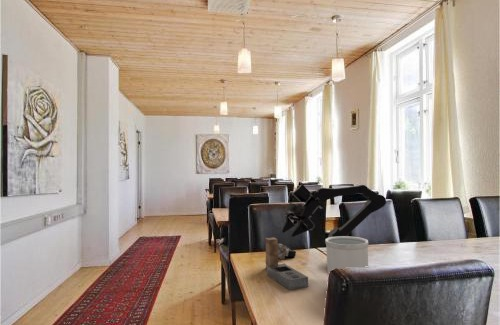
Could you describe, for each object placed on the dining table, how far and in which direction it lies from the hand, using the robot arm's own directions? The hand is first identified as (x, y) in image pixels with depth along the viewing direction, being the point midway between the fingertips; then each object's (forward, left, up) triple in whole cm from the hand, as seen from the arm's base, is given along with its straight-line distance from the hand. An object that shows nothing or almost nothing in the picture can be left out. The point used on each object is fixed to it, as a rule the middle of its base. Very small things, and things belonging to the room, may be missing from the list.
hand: (287, 234), depth 137 cm
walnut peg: (+5, +6, -14) cm, 16 cm away
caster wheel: (+6, -13, -14) cm, 20 cm away
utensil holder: (-28, +19, -14) cm, 36 cm away
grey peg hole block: (-5, +18, -14) cm, 24 cm away
